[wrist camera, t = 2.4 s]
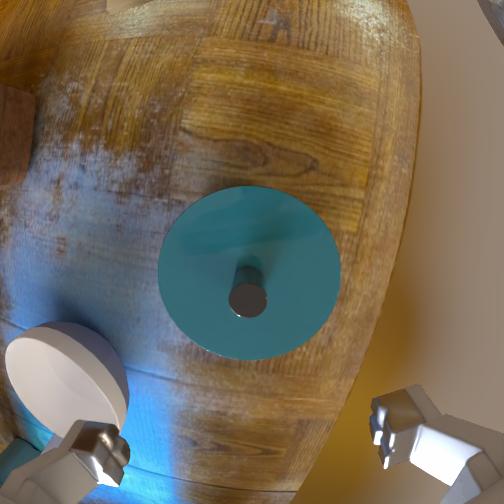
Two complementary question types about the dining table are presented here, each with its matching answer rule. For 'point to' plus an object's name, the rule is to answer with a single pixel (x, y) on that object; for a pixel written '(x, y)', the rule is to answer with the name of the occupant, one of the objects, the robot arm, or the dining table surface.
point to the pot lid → (249, 272)
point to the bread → (15, 134)
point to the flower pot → (15, 457)
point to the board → (122, 5)
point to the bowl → (68, 376)
